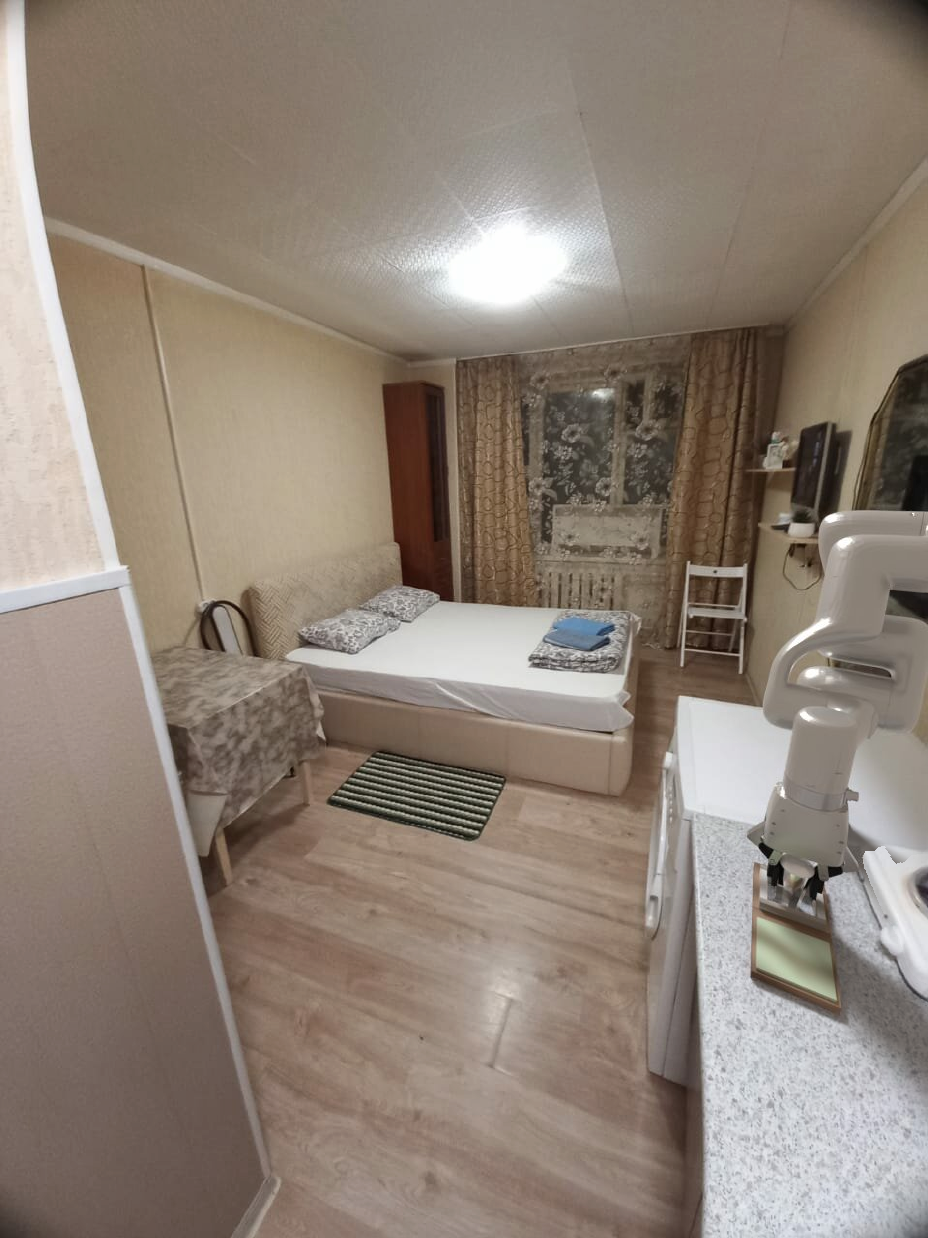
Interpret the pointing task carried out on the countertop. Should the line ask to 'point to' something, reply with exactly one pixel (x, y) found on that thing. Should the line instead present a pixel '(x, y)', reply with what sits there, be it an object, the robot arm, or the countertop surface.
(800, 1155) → the countertop surface
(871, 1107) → the countertop surface
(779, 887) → the milkshake
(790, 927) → the board
